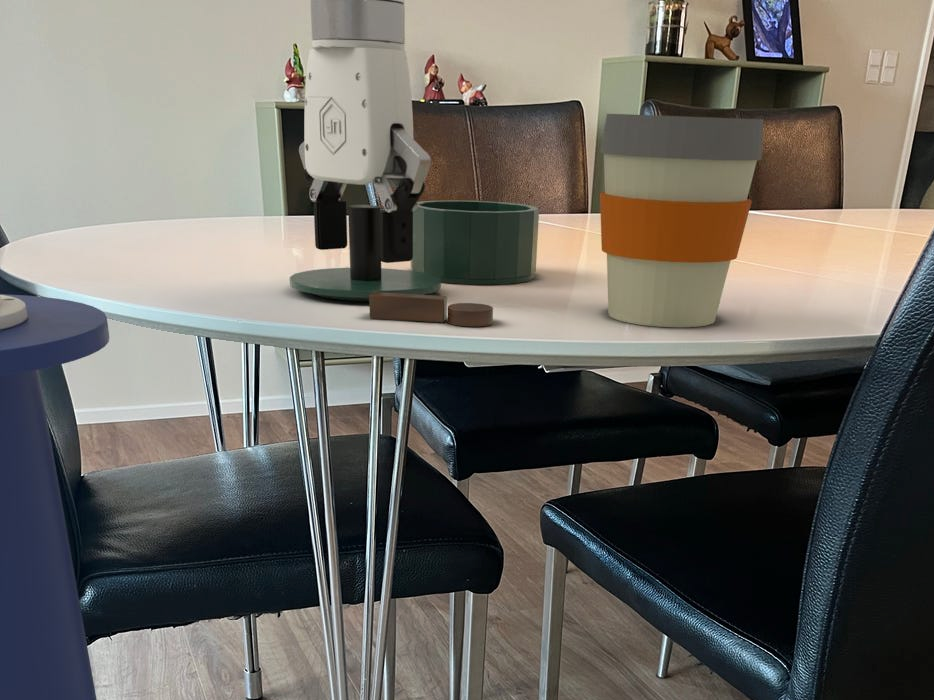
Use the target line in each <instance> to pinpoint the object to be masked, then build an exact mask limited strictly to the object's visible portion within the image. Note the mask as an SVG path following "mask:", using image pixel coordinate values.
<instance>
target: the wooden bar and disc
mask: <svg viewBox="0 0 934 700" xmlns="http://www.w3.org/2000/svg"><path fill="white" fill-rule="evenodd" d="M369 318H370V319H373V320H374V319H376V320H389V321H390V320H393V321H408V322H422V323H423V322H425V323H445V321H447V323H448V324H450V325H452V326H453V325H454V326H457V327H458V326H459V327H467V328H468V327H470V328H476V327H477V328H479V327H486V326H487V327H488V326H491V325H492V324H493V323H494V307H493V306H492V305H489V304H485V303H477V302H476V303H475V302H459V303H457V302H456V303H452V304H449V305H448V296H446V295H435V294H424V295H418V294H400V293H382V292H374V293H372V294H371V295H370V296H369Z"/></svg>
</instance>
